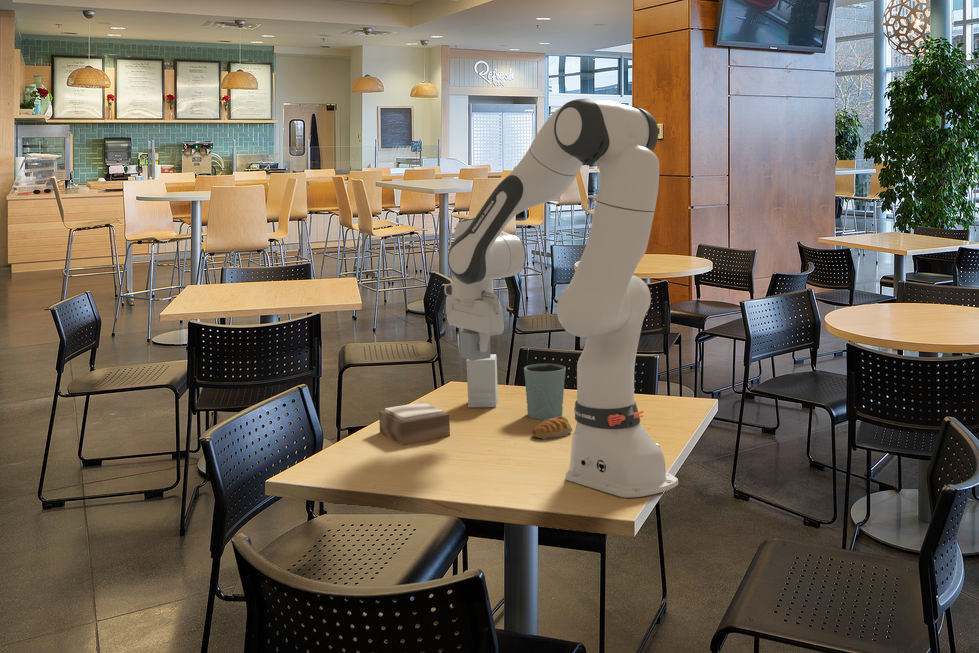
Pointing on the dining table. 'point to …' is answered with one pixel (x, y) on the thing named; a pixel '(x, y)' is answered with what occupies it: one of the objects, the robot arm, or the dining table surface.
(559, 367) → the teal cup
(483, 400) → the supplement box
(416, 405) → the walnut block
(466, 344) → the slate block
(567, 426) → the pastry
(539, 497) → the dining table surface
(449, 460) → the dining table surface
